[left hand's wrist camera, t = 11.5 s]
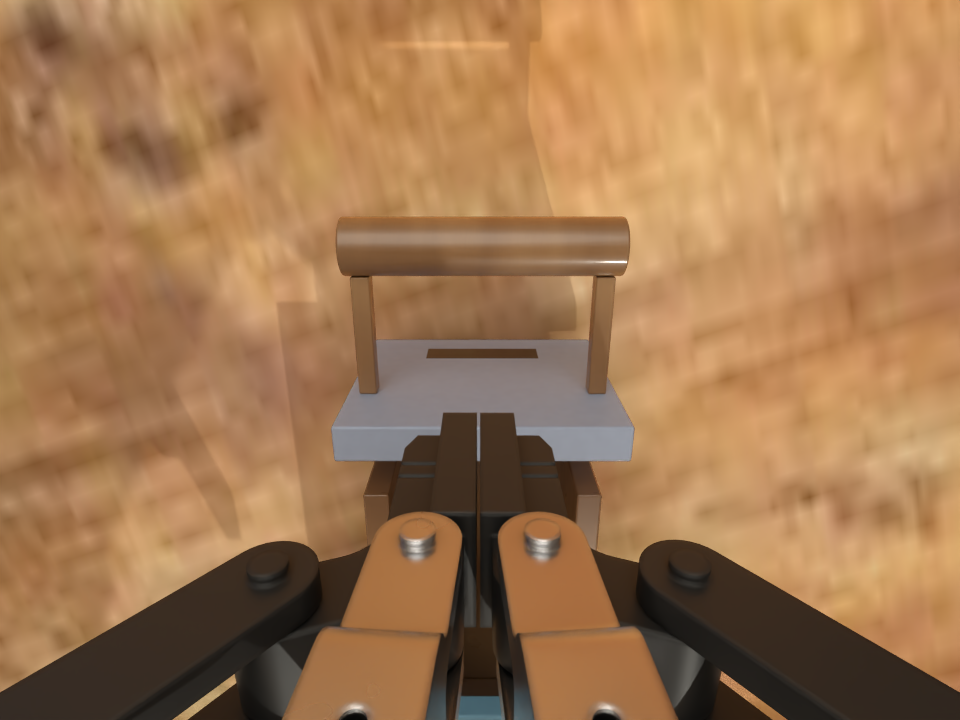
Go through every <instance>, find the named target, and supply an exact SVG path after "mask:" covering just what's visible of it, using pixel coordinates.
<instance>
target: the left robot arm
mask: <svg viewBox="0 0 960 720" xmlns="http://www.w3.org/2000/svg"><path fill="white" fill-rule="evenodd" d="M476 586H477V412H444V413H443V417H442V424H441V432H440V435H418V436H417V437H416V438H415V439H414V440H413V441H412V442H410V443H409V444H408V445H407V446H406V447H405V449H404V454H403V458H402V462H401V466H400V470H399V474H398V478H397V483H396V487H395V491H394V495H393V499H392V503H391V507H390V512H389V516H388V520H387V522H386V523H384V524H383V525H382V526H381V527H380V528H379V529H378V531H377V532H376V534H375V536H374V538H373V541H372V543H371V544H370V545H369V546H367V547H366V548H364V549H362V550H360V551H358V552H355V553H353V554H350V555H347V556H343V557H339V558H335V559H330V560H326V561H322V562H318V558H317V555H316V554H315V552H314V551H313V550H312V549H310V548H309V547H307V546H306V545H304V544H301V543H297V542H291V541H277V542H270V543H265V544H262V545H258V546H256V547H253V548H251V549H249V550H247V551H245V552H243V553H241V554H239V555H238V556H236V557H234V558H232V559H231V560H229V561H227V562H225V563H224V564H222V565H220V566H218V567H217V568H215V569H213V570H212V571H210V572H208V573H206V574H205V575H203V576H201V577H199V578H198V579H196V580H194V581H193V582H191V583H189V584H187V585H186V586H184V587H182V588H180V589H179V590H177V591H175V592H173V593H172V594H170V595H168V596H167V597H165V598H163V599H161V600H160V601H158V602H156V603H154V604H153V605H151V606H149V607H147V608H146V609H144V610H142V611H141V612H139V613H137V614H135V615H134V616H132V617H130V618H128V619H127V620H125V621H123V622H122V623H120V624H118V625H116V626H115V627H113V628H111V629H109V630H108V631H106V632H104V633H102V634H101V635H99V636H97V637H96V638H94V639H92V640H90V641H89V642H87V643H85V644H83V645H82V646H80V647H78V648H76V649H75V650H73V651H71V652H70V653H68V654H66V655H64V656H63V657H61V658H59V659H57V660H56V661H54V662H52V663H51V664H49V665H47V666H45V667H44V668H42V669H40V670H38V671H37V672H35V673H33V674H31V675H30V676H28V677H26V678H25V679H23V680H21V681H19V682H18V683H16V684H14V685H12V686H11V687H9V688H7V689H6V690H4V691H2V692H0V720H172V719H174V718H175V717H176V716H178V715H179V714H181V713H182V712H183V711H185V710H186V709H187V708H189V707H190V706H191V705H193V704H194V703H195V702H197V701H198V700H200V699H201V698H202V697H204V696H205V695H206V694H208V693H209V692H210V691H212V690H213V689H214V688H216V687H217V686H219V685H220V684H221V683H223V682H224V681H225V680H227V679H228V678H229V677H231V676H232V675H233V674H235V678H236V684H235V685H233V686H232V687H231V688H229V689H228V690H227V691H225V692H224V693H223V694H221V695H220V696H219V697H217V698H216V699H215V700H213V701H212V702H211V703H209V704H208V705H207V706H205V707H204V708H203V709H201V710H200V711H199V712H197V713H196V714H195V715H193V716H192V717H191V718H189V719H188V720H458V717H459V708H460V700H461V691H462V683H463V674H464V627H476ZM480 628H492V646H493V652H494V654H495V657H496V674H497V683H498V691H499V700H500V708H501V717H502V720H772V719H771V718H769V717H768V716H767V715H765V714H764V713H763V712H761V711H760V710H759V709H757V708H756V707H755V706H753V705H752V704H751V703H749V702H748V701H747V700H745V699H744V698H743V697H741V696H740V695H739V694H737V693H736V692H735V691H733V690H732V689H731V688H729V687H728V686H727V685H725V684H724V683H723V682H721V681H720V676H721V671H722V672H724V673H725V674H727V675H728V676H729V677H731V678H732V679H733V680H735V681H736V682H737V683H739V684H740V685H741V686H743V687H744V688H746V689H747V690H748V691H750V692H751V693H752V694H754V695H755V696H756V697H758V698H759V699H760V700H762V701H763V702H765V703H766V704H767V705H769V706H770V707H771V708H773V709H774V710H775V711H777V712H778V713H779V714H781V715H782V716H784V717H785V718H786V719H787V720H960V692H958V691H956V690H954V689H953V688H951V687H949V686H948V685H946V684H944V683H942V682H941V681H939V680H937V679H935V678H934V677H932V676H930V675H929V674H927V673H925V672H923V671H922V670H920V669H918V668H916V667H915V666H913V665H911V664H909V663H908V662H906V661H904V660H903V659H901V658H899V657H897V656H896V655H894V654H892V653H890V652H889V651H887V650H885V649H883V648H882V647H880V646H878V645H877V644H875V643H873V642H871V641H870V640H868V639H866V638H864V637H863V636H861V635H859V634H858V633H856V632H854V631H852V630H851V629H849V628H847V627H845V626H844V625H842V624H840V623H838V622H837V621H835V620H833V619H832V618H830V617H828V616H826V615H825V614H823V613H821V612H819V611H818V610H816V609H814V608H812V607H811V606H809V605H807V604H806V603H804V602H802V601H800V600H799V599H797V598H795V597H793V596H792V595H790V594H788V593H787V592H785V591H783V590H781V589H780V588H778V587H776V586H774V585H773V584H771V583H769V582H767V581H766V580H764V579H762V578H761V577H759V576H757V575H755V574H754V573H752V572H750V571H748V570H747V569H745V568H743V567H742V566H740V565H738V564H736V563H735V562H733V561H731V560H729V559H728V558H726V557H724V556H722V555H721V554H719V553H717V552H716V551H714V550H712V549H710V548H708V547H705V546H703V545H700V544H697V543H693V542H689V541H684V540H665V541H660V542H656V543H654V544H652V545H650V546H648V547H647V548H646V549H645V550H644V551H643V552H642V554H641V556H640V559H639V563H638V562H633V561H629V560H624V559H620V558H616V557H612V556H608V555H605V554H603V553H600V552H597V551H596V550H594V549H592V548H590V546H589V543H588V541H587V538H586V536H585V534H584V532H583V531H582V529H581V528H580V527H579V526H578V525H577V524H576V523H574V522H573V521H571V520H570V519H568V515H567V511H566V506H565V502H564V498H563V493H562V489H561V485H560V480H559V478H558V472H557V467H556V466H555V459H554V454H553V450H552V448H551V447H550V446H549V445H548V444H547V443H546V442H545V441H544V440H543V439H542V438H541V437H540V436H539V435H517V433H516V425H515V417H514V413H480Z"/></svg>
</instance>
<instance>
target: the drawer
mask: <svg viewBox="0 0 960 720" xmlns="http://www.w3.org/2000/svg"><path fill="white" fill-rule="evenodd" d="M629 252H630V231H629V225H628V221H627V219H626V218H625V217H341V218H340V219H339V221H338V224H337V229H336V254H337V261H338V265H339V269H340V271H341V273H342V275H344V276H351V277H350V286H351V298H352V310H353V322H354V334H355V346H356V358H357V370H358V377H357V379H356V381H355V383H354V385H353V386H352V388H351V390H350V392H349V394H348V396H347V398H346V400H345V402H344V404H343V406H342V408H341V410H340V412H339V414H338V416H337V418H336V420H335V422H334V423H333V425H332V428H331V431H332V441H333V450H334V459H335V461H375V462H374V465H373V468H372V471H371V475H370V478H369V481H368V484H367V487H366V490H365V493H364V507H365V518H366V530H367V541H368V546H369V545H370V544H371V543H372V541H373V538H374V536H375V534H376V532H377V531H378V529H379V528H380V527H381V526H382V525H383V524H384V523H386V522H387V520H388V516H389V512H390V507H391V503H392V499H393V495H394V491H395V487H396V483H397V478H398V474H399V470H400V466H401V462H402V458H403V454H404V449H405V447H406V446H407V445H408V444H409V443H410V442H412V441H413V440H414V439H415V438H416V437H417V436H418V435H440V432H441V424H442V417H443V413H444V412H477V586H476V627H464V674H463V683H462V691H461V696H499V691H498V683H497V674H496V657H495V654H494V652H493V646H492V628H480V413H514V417H515V425H516V433H517V435H539V436H540V437H541V438H542V439H543V440H544V441H545V442H546V443H547V444H548V445H549V446H550V447H551V448H552V450H553V454H554V459H555V466H556V467H557V472H558V478H559V480H560V485H561V489H562V493H563V498H564V502H565V506H566V511H567V515H568V519H570V520H571V521H573V522H574V523H576V524H577V525H578V526H579V527H580V528H581V529H582V531H583V532H584V534H585V536H586V538H587V541H588V543H589V546H590V548H592V549H594V550H596V551H597V542H598V531H599V519H600V508H601V497H602V496H601V493H600V490H599V487H598V484H597V481H596V478H595V475H594V472H593V469H592V466H591V463H590V461H630V460H631V456H632V447H633V437H634V426H633V424H632V422H631V420H630V419H629V417H628V415H627V413H626V411H625V409H624V407H623V405H622V404H621V402H620V400H619V398H618V396H617V394H616V392H615V390H614V388H613V387H612V385H611V383H610V381H609V379H608V377H607V373H608V362H609V350H610V339H611V327H612V315H613V304H614V292H615V281H616V278H615V277H614V276H621V275H623V274H624V273H625V270H626V268H627V264H628V260H629ZM372 276H594V277H593V290H592V304H591V318H590V332H589V341H588V340H376V329H375V315H374V300H373V286H372Z"/></svg>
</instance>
